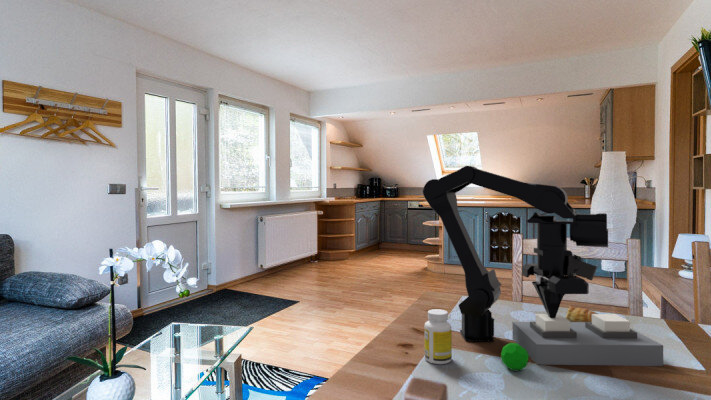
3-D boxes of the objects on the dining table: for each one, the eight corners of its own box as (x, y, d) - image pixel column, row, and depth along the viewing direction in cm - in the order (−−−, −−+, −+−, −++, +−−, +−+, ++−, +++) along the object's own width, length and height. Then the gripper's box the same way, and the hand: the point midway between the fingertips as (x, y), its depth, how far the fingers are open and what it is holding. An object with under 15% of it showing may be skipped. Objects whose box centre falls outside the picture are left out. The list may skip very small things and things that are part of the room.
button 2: (604, 335, 82) (604, 321, 82) (591, 327, 87) (591, 314, 87) (629, 335, 82) (629, 321, 82) (615, 327, 87) (615, 314, 87)
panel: (537, 364, 79) (536, 338, 79) (512, 338, 93) (512, 316, 93) (663, 365, 78) (663, 339, 78) (619, 339, 92) (619, 317, 91)
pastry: (610, 324, 103) (610, 309, 103) (606, 331, 98) (606, 316, 98) (570, 317, 109) (570, 303, 109) (563, 323, 104) (563, 309, 104)
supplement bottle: (456, 359, 82) (456, 311, 82) (442, 367, 78) (441, 317, 78) (434, 352, 85) (433, 306, 85) (419, 359, 82) (419, 311, 81)
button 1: (545, 335, 83) (545, 321, 83) (535, 327, 88) (535, 313, 88) (570, 335, 83) (569, 321, 83) (558, 327, 88) (558, 314, 88)
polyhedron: (502, 373, 75) (502, 347, 75) (499, 362, 80) (499, 338, 80) (531, 375, 74) (531, 350, 74) (526, 364, 79) (526, 340, 79)
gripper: (617, 250, 75) (617, 333, 76) (569, 239, 94) (569, 305, 94) (556, 250, 76) (557, 332, 76) (521, 239, 95) (521, 305, 95)
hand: (552, 317), depth 85 cm, fingers closed, pressing on button 1
